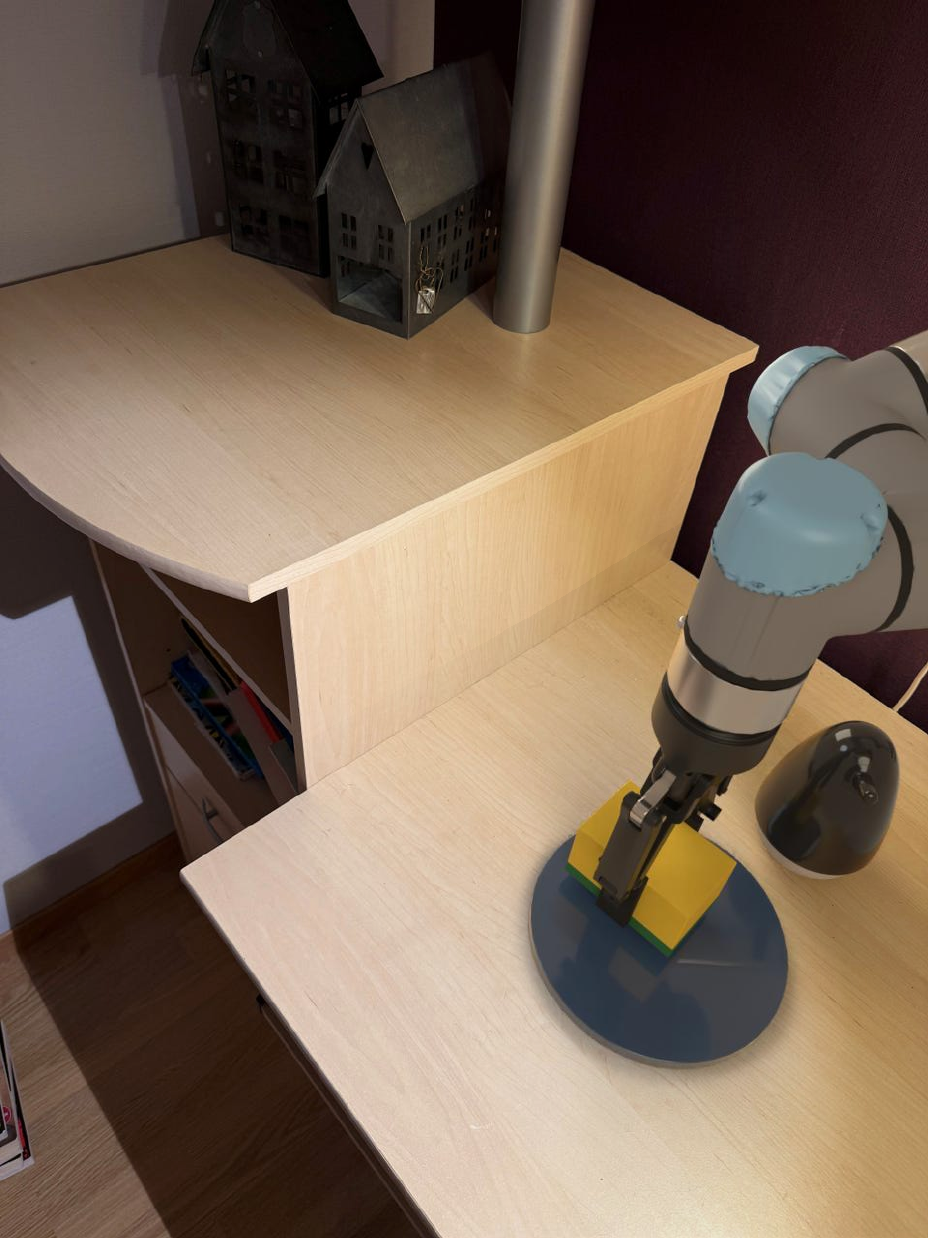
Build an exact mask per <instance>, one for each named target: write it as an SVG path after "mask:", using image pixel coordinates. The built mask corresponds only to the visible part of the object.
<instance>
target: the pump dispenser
mask: <svg viewBox="0 0 928 1238" xmlns="http://www.w3.org/2000/svg"><path fill="white" fill-rule="evenodd" d="M899 759H900V758H899V755H898V752H897V748H896V746H895V744H894V742H893V740H892V738H891V737H890V736H889V734H887V733H886V731H884V730H882V729H881V728H880V727H879V726H877V725H875V724H873V723H870V722H867V721H864V720H859V719H858V720H857V719H855V720H853V719H852V720H843V721H841V722H836V723H833V724H831V725H828V726H825V727H824V728H821V729H820V730H818V731H817V732H814V733H812V734H811V735H810V736H808V737H807V738H805V739H804V740H802V741H801V742H800V743H798V744H797V745H796V746H795V747H793V749H791V750H790V751H788V753H786V755H784V757H782V759H780V761H778V763H776V765H775V766H774V767H773V768H772V769H771V771H769V773H768V774H767V775H766V776H765V778H764V779H763V781H762V783H761V784H760V786H759V788H758V790H757V791H756V795H755V798H754V815H755V825H756V829H757V833H758V836H759V838H760V840H761V843H762V844H763V846H764V848H765V849H766V851H767V852H768V854H769V855H770V857H772V859H774V860H775V861H776V862H777V863H778V864H779V865H781V866H782V867H783V868H785V869H787V871H790V872H792V873H794V874H796V875H798V876H801V877H804V878H809V879H813V880H832V879H838V878H841V877H845V876H846V875H851V874H855V873H857V872H859V871H861V870H863V869H865V867H867V866H868V865H869V864H870V863H871V862H872V861H873V860H874V858H875V857H876V856H877V854H878V852H879V851H880V849H881V847H882V845H883V843H884V841H885V839H886V836H887V833H888V831H889V829H890V826H891V824H892V820H893V816H894V814H895V810H896V805H897V800H898V795H899V789H900V783H901V782H900V779H901V770H900V769H901V767H900V760H899Z"/></svg>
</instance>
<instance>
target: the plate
mask: <svg viewBox="0 0 928 1238" xmlns="http://www.w3.org/2000/svg"><path fill="white" fill-rule="evenodd" d="M576 834H577V832H576V833H574V834H572V835H571V836H570V837H568V838H567V839H566V840H565V841H563V842H562V843H560V845H558V846H557V848H556V849H555V850H554V851H552V853H551V855H550V856H549V857H548V859H547V860H546V862H545V863H543V867H542V868H541V870H540V872H539V874H538V876H537V879H536V882H535V884H534V888H533V891H532V895H531V898H530V903H529V904H530V905H529V911H528V933H529V934H528V935H529V943H530V948H531V952H532V957H533V959H534V962H535V966H536V969H537V971H538V973H539V975H540V978H541V979H542V981H543V983H544V985H545V987H546V989H547V991H548V993H549V994H550V996H551V997H552V998H553V1000H554V1001H555V1002H556V1004H557V1005H558V1008H560V1009H561V1011H562V1012H563V1013H564V1014H565V1015H566V1016H567V1017H568V1018H569V1019H570V1021H571V1022H572V1023H573V1024H574V1025H576V1026H577V1027H578V1028H579V1029H580V1030H581V1031H582V1032H583V1033H584V1034H586V1035H587V1036H588V1037H590V1038H591V1039H592V1040H594V1041H595V1042H597V1043H598V1044H600V1045H601V1046H603V1047H604V1048H606V1049H608V1050H610V1051H612V1052H614V1053H615V1054H617V1055H618V1056H621V1057H624V1058H626V1059H629V1060H631V1061H634V1062H636V1063H639V1064H644V1065H646V1066H647V1065H648V1066H652V1067H656V1068H664V1069H672V1070H689V1069H690V1070H692V1069H693V1070H694V1069H698V1068H706V1067H710V1066H713V1065H716V1064H719V1063H722V1062H726V1061H728V1060H729V1059H732V1058H733V1057H735V1056H737V1055H739V1054H741V1053H742V1052H744V1051H745V1050H746V1049H747V1048H749V1047H750V1046H751V1045H753V1044H754V1043H755V1041H756V1040H757V1039H759V1038H760V1036H761V1035H762V1034H763V1033H764V1032H765V1031H766V1029H767V1028H768V1027H769V1026H770V1024H771V1023H772V1021H773V1020H774V1018H775V1016H776V1015H777V1013H778V1011H779V1008H780V1007H781V1004H782V1001H783V999H784V997H785V991H786V988H787V984H788V975H789V974H788V973H789V960H788V959H789V958H788V947H787V942H786V937H785V933H784V930H783V927H782V924H781V920H780V918H779V916H778V914H777V911H776V909H775V907H774V904H773V903H772V901H771V899H770V898H769V896H768V894H767V893H766V891H765V890H764V888H763V886H762V885H761V884H760V883H759V882H758V880H757V879H756V877H755V876H754V875H753V874H752V873H751V872H750V871H749V870H748V869H747V867H746V866H745V865H744V864H742V862H740V861H739V859H737V858H736V857H735V856H734V855H732V854H731V853H730V852H729V851H727V850H726V849H724V847H722V846H721V845H719V844H718V843H716V842H714V841H713V840H711V839H710V838H708V837H706V836H704V835H702V834H701V835H702V836H703V837H705V838H706V839H707V840H709V841H710V842H711V843H712V844H714V845H715V846H716V847H718V848H719V849H720V850H722V851H723V852H724V853H726V854H727V855H728V856H729V857H731V858H732V859H733V860H735V861H736V862H737V864H736V866H735V867H734V869H733V871H732V873H731V875H730V876H729V878H728V880H727V882H726V883H725V885H724V887H723V889H722V891H721V892H720V894H719V896H718V898H717V900H716V901H715V903H714V904H713V905H712V907H711V908H710V909H709V910H708V911H707V912H706V914H705V915H704V916H703V917H702V918H701V919H700V921H699V922H698V923H697V924H696V925H695V927H694V928H693V929H692V930H691V931H690V932H689V934H688V935H687V936H686V937H685V938H684V939H683V941H682V942H681V943H680V944H679V945H678V946H677V948H676V949H675V950H674V951H673V952H672V953H671V955H670V956H669V957H667V956H665V955H664V954H663V953H662V952H661V951H660V950H658V949H657V948H656V947H655V946H654V945H653V944H651V943H650V942H649V941H648V940H647V939H646V938H644V937H643V936H642V935H641V934H640V933H639V932H637V931H636V930H635V929H634V928H633V927H632V926H630V925H629V924H627V925H626V926H625V927H624V928H622V927H621V926H619V925H618V924H617V923H616V922H615V921H614V920H613V919H611V918H610V917H609V916H608V915H607V914H606V913H604V912H603V911H602V910H601V909H600V908H599V907H597V906H596V905H595V904H596V902H597V899H598V897H596V896H595V895H594V894H593V893H592V892H591V891H589V890H588V889H587V888H586V887H585V886H584V885H582V884H581V883H580V882H579V881H578V880H577V879H575V878H574V877H573V876H572V875H571V874H570V873H568V872H567V871H566V870H565V868H566V865H567V862H568V859H569V856H570V853H571V850H572V846H573V843H574V840H575V837H576Z"/></svg>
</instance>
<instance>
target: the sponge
mask: <svg viewBox="0 0 928 1238" xmlns="http://www.w3.org/2000/svg"><path fill="white" fill-rule="evenodd" d="M640 790H641V787H639V786H638V785H637V784H635V783H634V782H633V781H632V780H627V781H626V782H625V783H624V784H623V785H622V786H621V787H620V788H619V789H618V790H617V791H615V793H613V795H612V796H610V797H609V798H608V799H607V800H606V801H605V802H604V803H603V804H602V805H601V806H599V808H598V809H596V810H595V811H594V812H593V813H592V814H591V815H590V816H589V817H588V818H587V819H586V820H585V821H583V823H582V824H581V825H579V827H578V828H577V831H576V833H577V834H576V833H575V834H576V837H575V840H574V843H573V846H572V850H571V853H570V856H569V859H568V862H567V865H566V868H565V870H566V871H567V872H568V873H570V874H571V875H572V876H573V877H574V878H575V879H577V880H578V881H579V882H580V883H581V884H582V885H584V886H585V887H586V888H587V889H588V890H589V891H591V892H592V893H593V894H594V895H595V896H596V897H598V896H599V894H600V891H601V889H602V886H601V885H600V884H599V883H598V882H596V881H595V880H594V879H593V876H594V874H595V873H594V872H595V871H596V869H597V867H598V864H599V861H598V859H599V857H601V856H602V855H603V853H604V850H605V848H606V846H607V843H608V841H609V839H610V836H611V834H612V832H613V830H614V827H615V825H616V823H617V820H618V818H619V815H620V808H621V803H622V801H623V798H624V796H625V795H626V794H628V793H629V792H631V791H634V792H635V793H638V794H639V795H640ZM703 836H704V835H703ZM703 836H702V834H700V833H699V831H698V832H697V831H695V830H694V829H693V828H691V827H690V826H689V825H688V824H686V823H685V822H684V821H683V822H682V823H681V824H676V825H675V827H674V828H673V830H672V832H671V833H670V835H669V837H668V838H667V840H666V842H665V844H664V845H663V847H662V849H661V850H660V852H659V854H658V855H657V857H656V859H655V860H654V862H653V864H652V866H651V867H650V869H649V871H648V872H647V874H646V876H647V877H648V878H649V880H648V882H647V884H646V886H645V888H644V890H643V893H642V895H641V897H640V899H639V901H638V904H637V906H636V908H635V910H634V913H633V915H632V917H631V919H630V921H629V923H628V924H629V925H630V926H632V927H633V928H634V929H635V930H636V931H637V932H639V933H640V934H641V935H642V936H643V937H644V938H646V939H647V940H648V941H649V942H650V943H651V944H653V945H654V946H655V947H656V948H657V949H658V950H660V951H661V952H662V953H663V954H664V955H665V956H667V957H669V956H670V955H671V953H672V952H673V951H674V950H675V949H676V948H677V946H678V945H679V944H680V943H681V942H682V941H683V939H684V938H685V937H686V936H687V935H688V934H689V932H690V931H691V930H692V929H693V928H694V927H695V925H696V924H697V923H698V922H699V921H700V919H701V918H702V917H703V916H704V915H705V914H706V912H707V911H708V910H709V909H710V908H711V907H712V905H713V904H714V903H715V901H716V900H717V898H718V896H719V894H720V892H721V891H722V889H723V887H724V885H725V883H726V882H727V880H728V878H729V876H730V875H731V873H732V871H733V869H734V867H735V866H736V864H737V862H736V861H735V860H733V859H732V858H731V857H729V856H728V855H727V854H726V853H724V852H723V851H722V850H720V849H719V848H718V847H716V846H715V845H714V844H712V843H711V842H710V841H709V840H710V839H709V840H707V839H706V838H707V837H706V836H704V837H703ZM705 837H706V838H705Z"/></svg>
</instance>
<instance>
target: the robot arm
mask: <svg viewBox="0 0 928 1238" xmlns="http://www.w3.org/2000/svg"><path fill="white" fill-rule="evenodd" d="M746 417H747V420H748V422H749V425H750V428H751V429H752V432H753V433H754V435H755V437H756V438H757V440H758V442H759V443H760V445H761V446H762V448H763V450H764V451H765V454H766V457H764V458H761V459H759V460H756V462H754V463H753V464H751V465H750V466H749V467H748V468H747V469H745V471H744V472H743V473H742V475H741V476H740V478H739V479H738V481H737V483H736V485H735V487H734V489H733V491H732V493H731V494H730V496H729V499H728V500H727V503H726V505H725V508H724V510H723V511H722V515H720V518H719V519H718V520H717V523H716V525H715V527H714V528H713V532H712V536H711V539H710V546H709V548H708V551H707V554H706V558H705V561H704V563H703V567H702V570H701V573H700V576H699V578H698V581H697V584H696V587H695V589H694V593H693V596H692V598H691V600H690V604H689V607H688V610H687V613H686V614H684V615H682V616H680V617H679V618H678V619H677V620H676V623H675V628H676V629H677V630H679V631H680V633H679V636H678V639H677V642H676V645H675V647H674V649H673V651H672V655H671V657H670V660H669V663H668V665H667V668H666V671H665V672H664V674H663V677H662V679H661V682H660V684H659V688H658V691H657V693H656V696H655V698H654V701H653V704H652V707H651V712H650V713H651V714H650V720H651V721H650V722H651V726H652V730H653V733H654V736H655V737H656V740H657V742H658V744H659V748H658V749H657V751H656V753H655V755H654V757H653V758H652V761H651V762H652V768H651V770H650V771H649V774H648V775H647V777H646V779H645V781H644V783H643V784H642V786H641V787H640V789H641V790H640V795H639V794H638V793H635V792H634V791H631V792H629V793H628V794H626V795H625V796H624V798H623V801H622V803H621V808H620V815H619V818H618V820H617V823H616V825H615V827H614V830H613V832H612V834H611V836H610V839H609V841H608V843H607V846H606V848H605V850H604V853H603V855H602V856H601V857H599V859H598V861H599V864H598V867H597V869H596V871H595V872H594V873H595V874H594V876H593V879H594V880H595V881H596V882H598V883H599V884H600V885H601V886H602V889H601V891H600V894H599V896H598V899H597V902H596V904H595V905H596V906H597V907H599V908H600V909H601V910H602V911H603V912H604V913H606V914H607V915H608V916H609V917H610V918H611V919H613V920H614V921H615V922H616V923H617V924H618V925H619V926H621V927H622V928H624V927H625V926H626V925H627V924H628V923H629V921H630V919H631V917H632V915H633V913H634V910H635V908H636V906H637V904H638V901H639V899H640V897H641V895H642V893H643V890H644V888H645V886H646V884H647V882H648V880H649V878H648V877H647V876H646V874H647V872H648V871H649V869H650V867H651V866H652V864H653V862H654V860H655V859H656V857H657V855H658V854H659V852H660V850H661V849H662V847H663V845H664V844H665V842H666V840H667V838H668V837H669V835H670V833H671V832H672V830H673V828H674V827H675V825H676V824H681V823H682V822H683V821H684V822H685V823H686V824H688V825H689V826H690V827H691V828H693V829H694V830H695V831H697V832H698V833H699V831H700V830H701V827H702V825H703V823H704V821H705V819H704V818H703V817H702V816H701V815H704V816H705V818H707V819H709V820H710V821H711V822H715V821H716V820H717V818H719V816H720V814H721V813H722V811H723V808H721V807H720V806H718V804H716V803H715V800H716V797H717V796H718V797H722V796H723V795H725V794H726V793H727V791H728V790H729V789H728V787H729V785H730V783H731V781H732V780H733V778H734V776H736V775H740V774H744V773H746V772H748V771H750V770H752V769H755V767H758V765H759V764H760V763H761V762H762V761H763V760H764V758H765V757H766V755H767V754H768V751H769V749H770V747H771V746H772V744H773V742H774V740H775V738H776V736H777V734H778V732H779V730H780V729H781V727H782V724H783V722H784V721H785V720H786V718H788V716H789V714H790V712H791V710H792V708H793V706H794V705H795V702H796V700H797V698H798V697H799V695H800V692H801V691H802V689H803V687H804V684H805V683H806V681H807V679H808V678H809V674H810V672H811V670H812V669H813V666H814V665H815V663H816V662H817V659H818V657H819V656H820V654H821V652H822V651H823V649H824V647H825V646H826V643H827V641H829V640H830V639H832V638H835V637H842V636H843V637H844V636H855V635H856V636H857V635H864V634H874V633H884V632H885V633H886V632H887V633H888V632H898V631H909V630H920V629H928V329H926V330H924V331H920V332H918V333H916V334H913V335H911V336H909V337H907V338H904V339H902V340H899V341H897V342H895V343H892V344H890V345H888V346H886V347H885V348H882V349H880V350H876V351H873V352H871V353H868V354H866V355H864V356H862V357H860V358H857V359H856V360H853V361H852V360H851V359H850V358H849V357H848V356H846V355H845V354H844V353H839V352H838V351H837V350H835V349H834V348H832V347H829V346H821V345H812V346H809V345H804V346H800V347H797V348H794V349H793V350H790V351H787V352H786V353H784V354H782V355H781V356H779V357H778V358H777V359H776V360H774V361H773V362H772V363H771V364H769V365H768V366H767V367H766V368H765V369H764V370H763V372H762V373H761V374H760V375H759V377H758V378H757V380H755V383H754V385H753V387H752V389H751V391H750V395H749V398H748V402H747V416H746Z"/></svg>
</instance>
